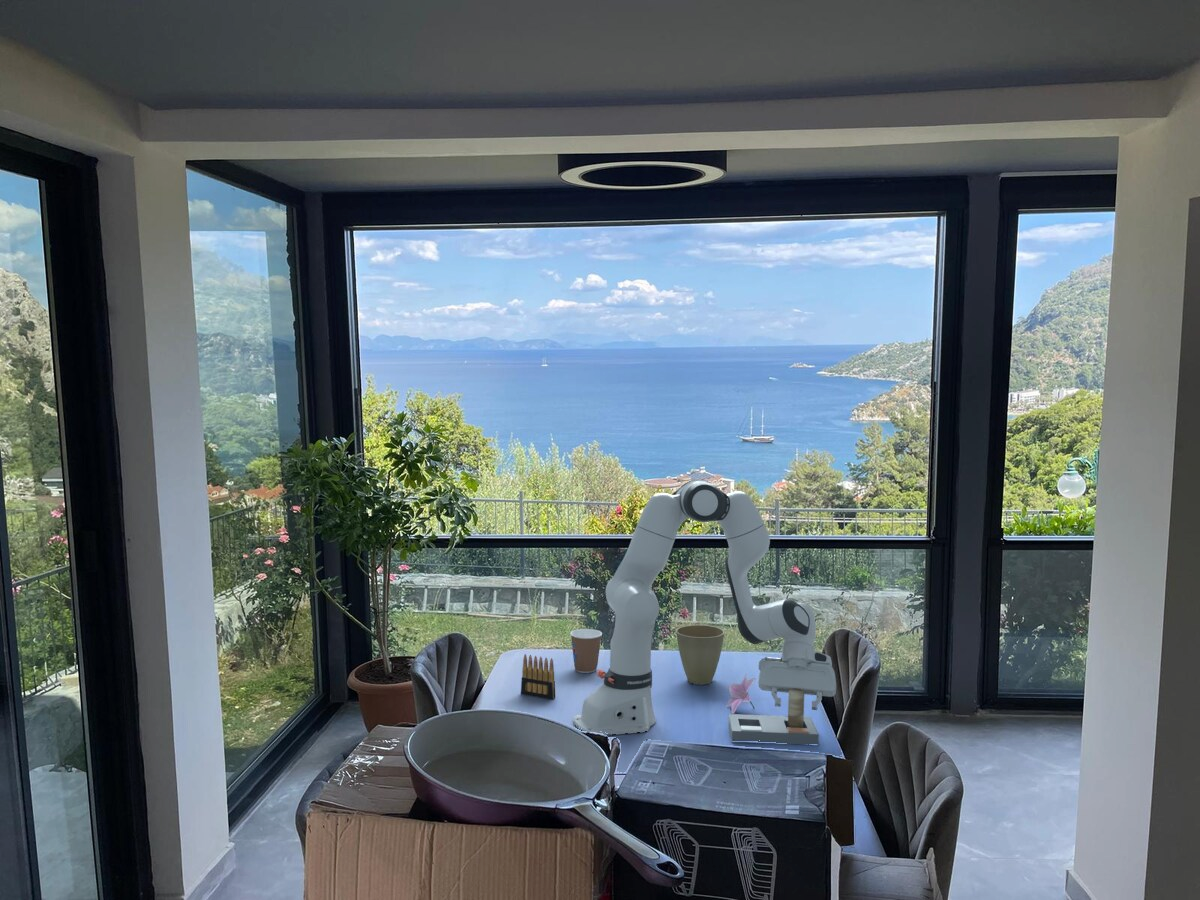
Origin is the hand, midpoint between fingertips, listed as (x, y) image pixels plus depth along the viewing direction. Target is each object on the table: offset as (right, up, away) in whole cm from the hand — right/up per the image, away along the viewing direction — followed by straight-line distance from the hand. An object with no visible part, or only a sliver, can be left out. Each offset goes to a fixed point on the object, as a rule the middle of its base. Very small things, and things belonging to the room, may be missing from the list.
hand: (796, 707), depth 233 cm
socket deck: (-6, -8, +1) cm, 10 cm away
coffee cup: (-56, -4, +54) cm, 78 cm away
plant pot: (-20, -5, +44) cm, 49 cm away
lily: (-11, -7, +20) cm, 24 cm away
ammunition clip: (-70, -5, +29) cm, 76 cm away
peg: (0, -8, +1) cm, 8 cm away
